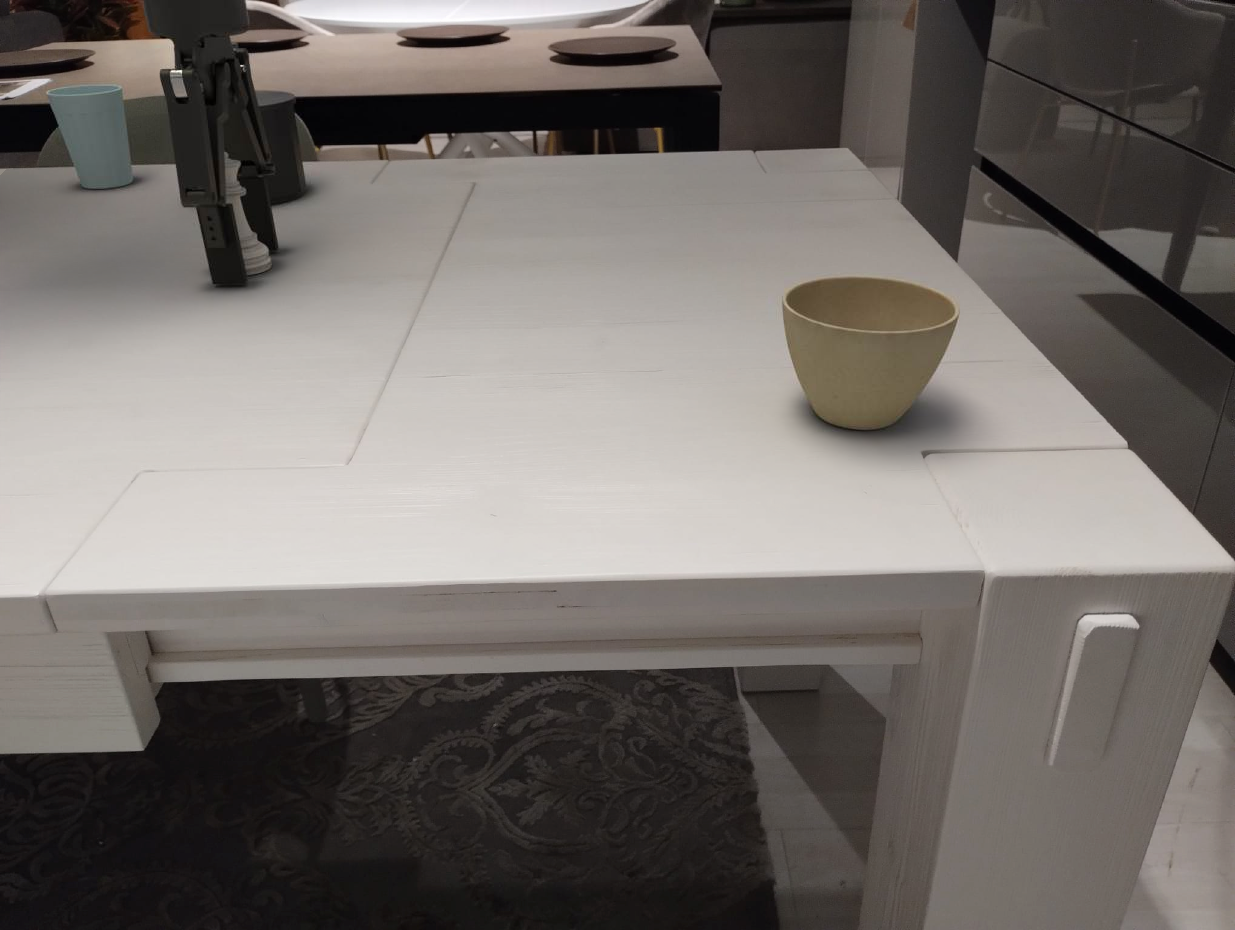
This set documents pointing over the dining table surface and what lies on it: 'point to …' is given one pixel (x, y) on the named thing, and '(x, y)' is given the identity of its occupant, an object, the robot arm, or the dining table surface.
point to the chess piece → (244, 223)
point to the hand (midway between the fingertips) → (247, 265)
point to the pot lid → (272, 97)
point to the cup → (94, 133)
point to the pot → (283, 156)
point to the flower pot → (866, 345)
